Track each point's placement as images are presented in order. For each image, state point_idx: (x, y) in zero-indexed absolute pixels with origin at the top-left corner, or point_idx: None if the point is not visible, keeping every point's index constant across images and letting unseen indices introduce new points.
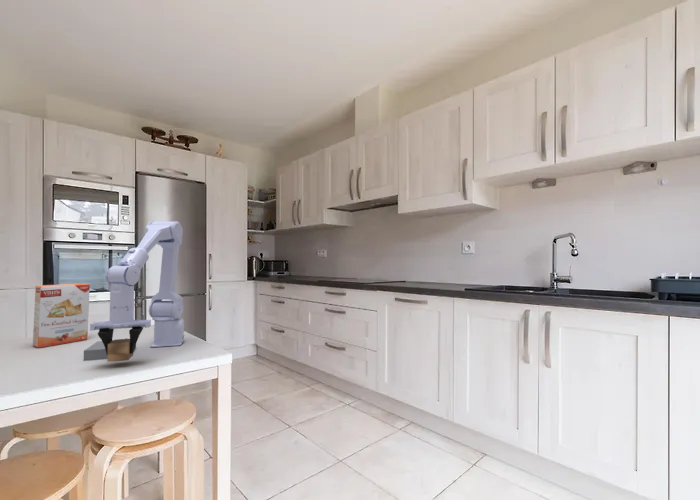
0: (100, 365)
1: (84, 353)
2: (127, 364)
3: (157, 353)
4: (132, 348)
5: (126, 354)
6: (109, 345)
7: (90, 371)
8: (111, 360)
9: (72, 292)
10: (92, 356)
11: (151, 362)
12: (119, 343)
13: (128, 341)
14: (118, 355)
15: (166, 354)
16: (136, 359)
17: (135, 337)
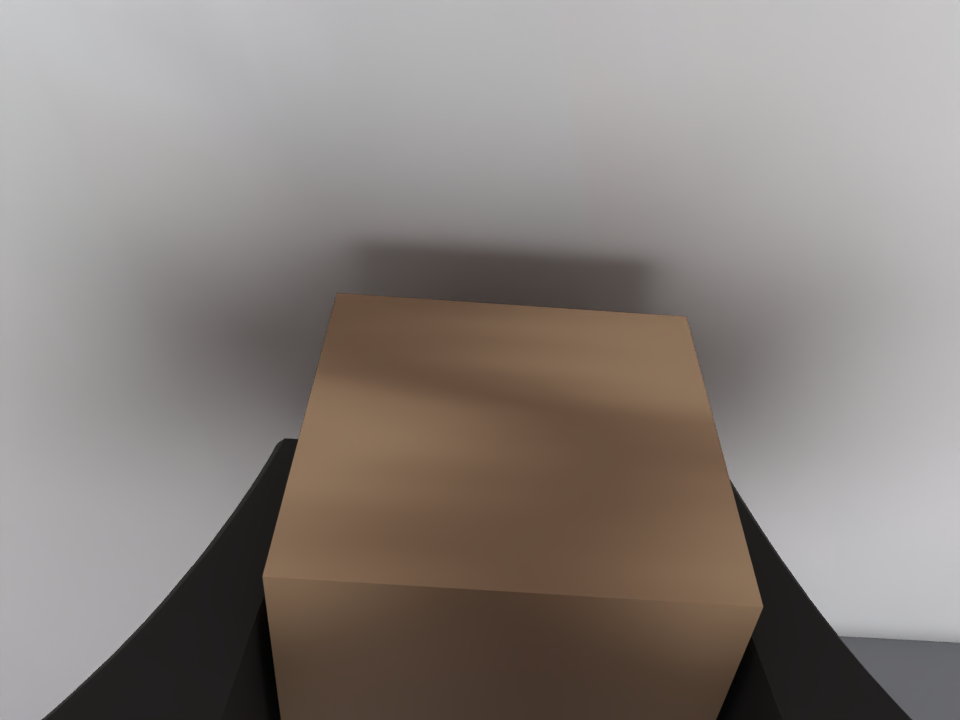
0: (777, 427)
1: None
2: None
3: None
4: (244, 499)
5: (350, 366)
6: (715, 572)
7: (910, 195)
8: (621, 323)
9: None
10: (895, 682)
11: (48, 326)
12: (485, 587)
13: (314, 670)
14: (503, 374)
15: (2, 584)
16: None
17: (68, 716)
